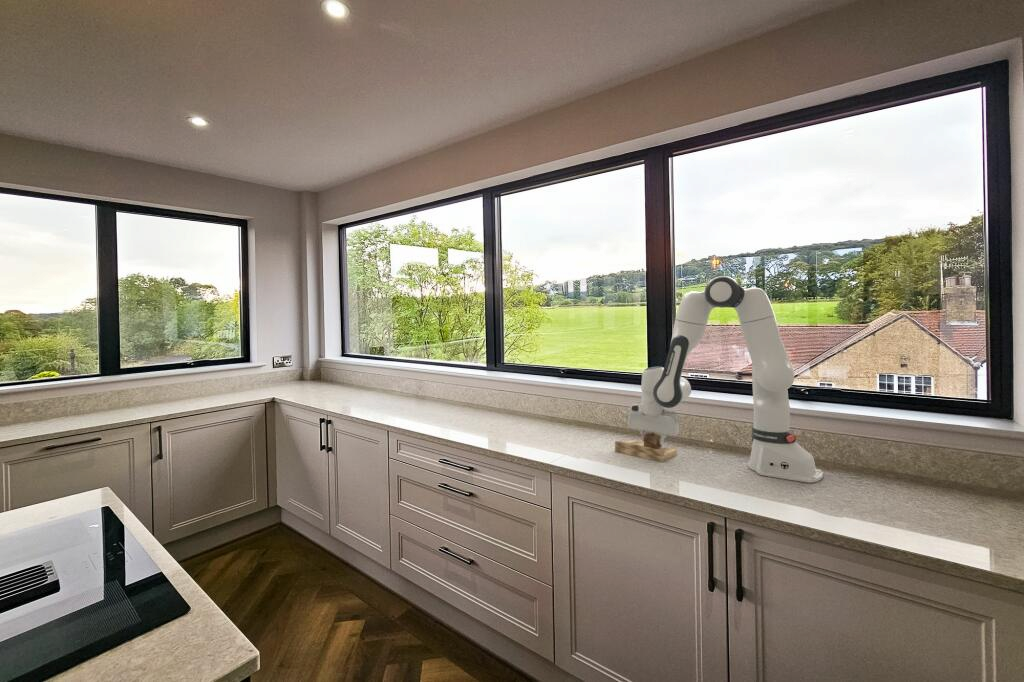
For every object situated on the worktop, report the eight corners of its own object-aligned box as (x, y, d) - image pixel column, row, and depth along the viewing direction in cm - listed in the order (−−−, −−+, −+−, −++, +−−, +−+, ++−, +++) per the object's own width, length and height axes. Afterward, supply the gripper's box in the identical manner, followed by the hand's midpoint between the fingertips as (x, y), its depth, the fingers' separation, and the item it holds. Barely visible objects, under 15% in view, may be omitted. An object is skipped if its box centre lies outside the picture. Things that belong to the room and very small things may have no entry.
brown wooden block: (661, 447, 186) (661, 432, 186) (655, 449, 183) (655, 434, 182) (650, 444, 190) (650, 430, 190) (643, 447, 186) (643, 432, 186)
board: (676, 454, 184) (676, 444, 184) (661, 462, 175) (661, 451, 175) (631, 445, 198) (631, 435, 198) (615, 451, 190) (615, 441, 189)
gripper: (682, 410, 180) (681, 446, 181) (634, 403, 195) (634, 436, 196) (674, 413, 176) (674, 450, 177) (625, 405, 190) (625, 439, 191)
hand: (652, 443), depth 186 cm, fingers closed on brown wooden block, 5 cm apart
